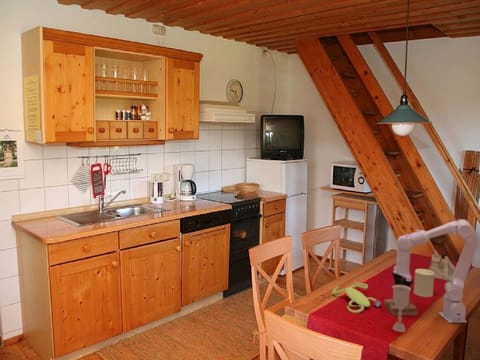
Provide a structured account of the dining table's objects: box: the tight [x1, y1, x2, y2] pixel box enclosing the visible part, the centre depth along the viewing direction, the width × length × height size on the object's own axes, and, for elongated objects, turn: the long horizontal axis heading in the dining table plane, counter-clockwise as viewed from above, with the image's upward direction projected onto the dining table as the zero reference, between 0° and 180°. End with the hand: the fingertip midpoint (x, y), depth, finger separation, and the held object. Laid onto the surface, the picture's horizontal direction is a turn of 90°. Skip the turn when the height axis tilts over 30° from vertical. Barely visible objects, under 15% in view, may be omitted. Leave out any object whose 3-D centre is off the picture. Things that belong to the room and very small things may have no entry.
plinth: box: [383, 298, 418, 316], centre depth 197 cm, size 11×11×3 cm
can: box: [413, 268, 435, 298], centre depth 216 cm, size 9×9×12 cm
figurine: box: [331, 281, 382, 314], centre depth 207 cm, size 18×27×6 cm
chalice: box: [392, 284, 412, 333], centre depth 178 cm, size 7×7×18 cm
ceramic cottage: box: [427, 250, 456, 282], centre depth 243 cm, size 16×16×15 cm
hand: (401, 290), depth 196 cm, fingers open, 7 cm apart
